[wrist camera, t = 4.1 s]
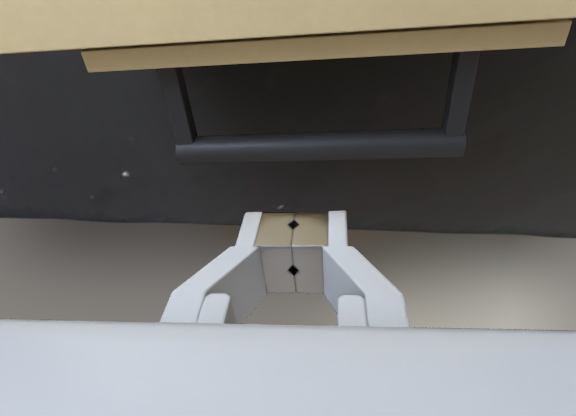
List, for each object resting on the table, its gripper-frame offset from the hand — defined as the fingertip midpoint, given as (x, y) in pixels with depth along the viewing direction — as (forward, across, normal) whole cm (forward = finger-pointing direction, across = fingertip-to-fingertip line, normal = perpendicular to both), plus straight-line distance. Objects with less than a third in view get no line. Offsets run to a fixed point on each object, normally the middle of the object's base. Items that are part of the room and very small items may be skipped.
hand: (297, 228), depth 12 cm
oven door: (+25, 0, 0) cm, 25 cm away
